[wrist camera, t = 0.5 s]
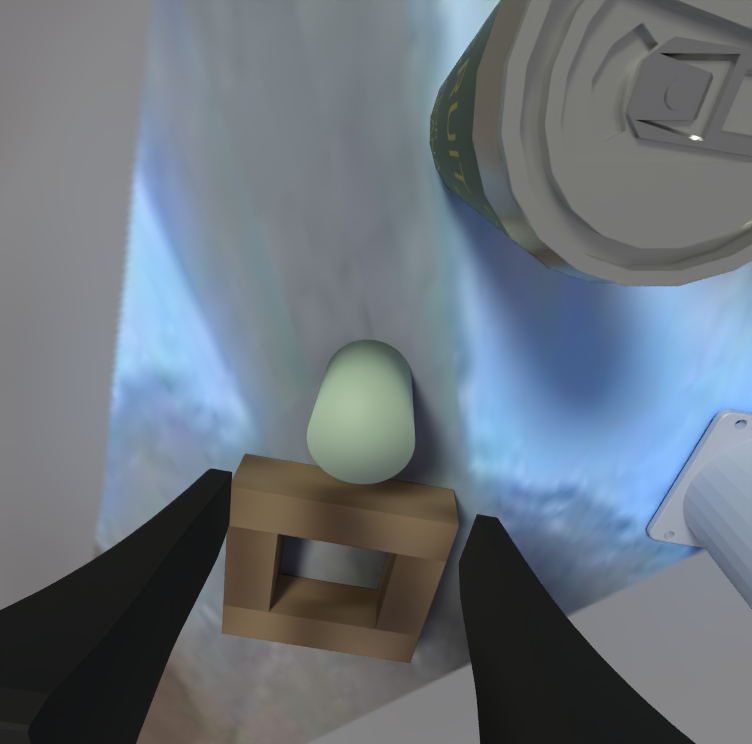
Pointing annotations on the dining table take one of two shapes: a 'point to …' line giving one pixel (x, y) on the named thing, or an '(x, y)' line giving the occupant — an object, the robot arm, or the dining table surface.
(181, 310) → the dining table surface
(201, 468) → the dining table surface
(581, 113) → the beer can
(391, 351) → the peg
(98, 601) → the robot arm
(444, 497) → the socket
